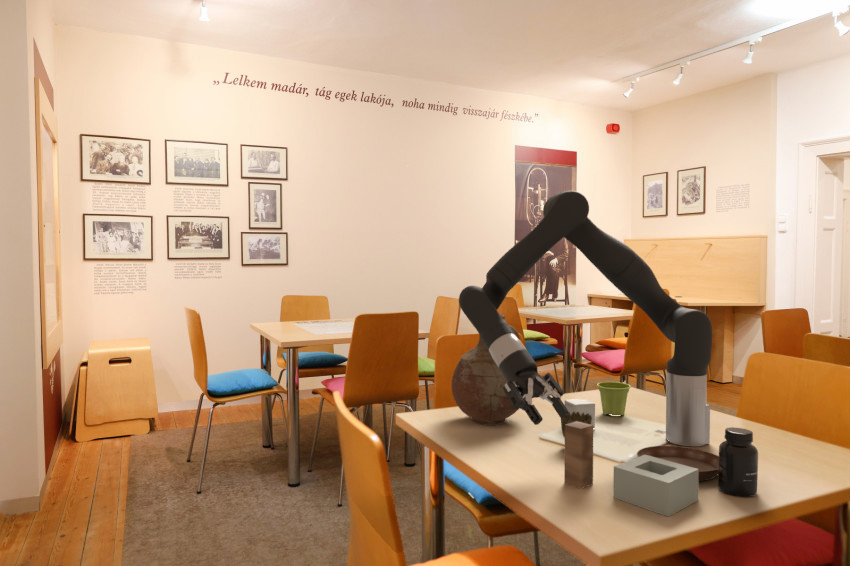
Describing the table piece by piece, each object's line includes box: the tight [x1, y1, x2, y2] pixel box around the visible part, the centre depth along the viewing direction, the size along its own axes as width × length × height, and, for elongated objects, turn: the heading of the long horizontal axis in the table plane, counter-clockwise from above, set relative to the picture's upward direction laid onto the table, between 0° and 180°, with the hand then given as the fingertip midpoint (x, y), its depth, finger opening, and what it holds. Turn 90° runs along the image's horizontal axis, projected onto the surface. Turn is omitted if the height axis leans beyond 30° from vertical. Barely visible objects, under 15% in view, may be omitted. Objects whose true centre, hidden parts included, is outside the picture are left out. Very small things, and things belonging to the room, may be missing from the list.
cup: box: [560, 412, 592, 439], centre depth 144 cm, size 8×7×8 cm
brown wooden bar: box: [564, 421, 594, 489], centre depth 121 cm, size 4×4×12 cm
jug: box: [451, 314, 521, 426], centre depth 168 cm, size 22×22×30 cm
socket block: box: [612, 455, 699, 517], centre depth 113 cm, size 11×11×6 cm
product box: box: [564, 398, 596, 429], centre depth 161 cm, size 6×6×7 cm
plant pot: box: [596, 381, 632, 416], centre depth 175 cm, size 9×9×9 cm
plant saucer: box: [636, 445, 719, 482], centre depth 129 cm, size 18×18×3 cm
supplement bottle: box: [717, 427, 759, 498], centre depth 116 cm, size 7×7×12 cm
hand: (552, 419), depth 126 cm, fingers open, 8 cm apart
